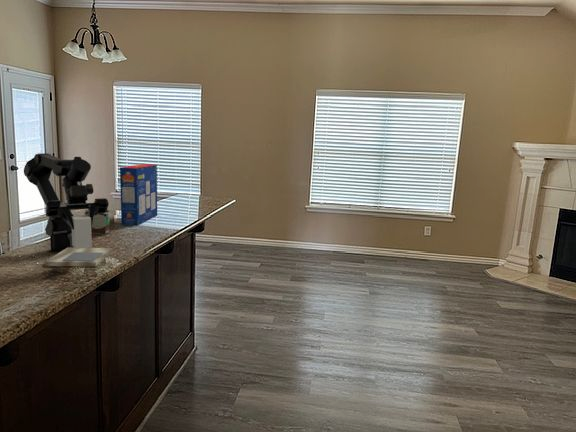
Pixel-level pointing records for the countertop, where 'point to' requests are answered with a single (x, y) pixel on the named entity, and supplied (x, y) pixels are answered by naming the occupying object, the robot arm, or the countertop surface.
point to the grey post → (81, 232)
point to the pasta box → (138, 193)
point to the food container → (100, 222)
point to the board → (79, 257)
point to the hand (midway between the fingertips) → (82, 228)
